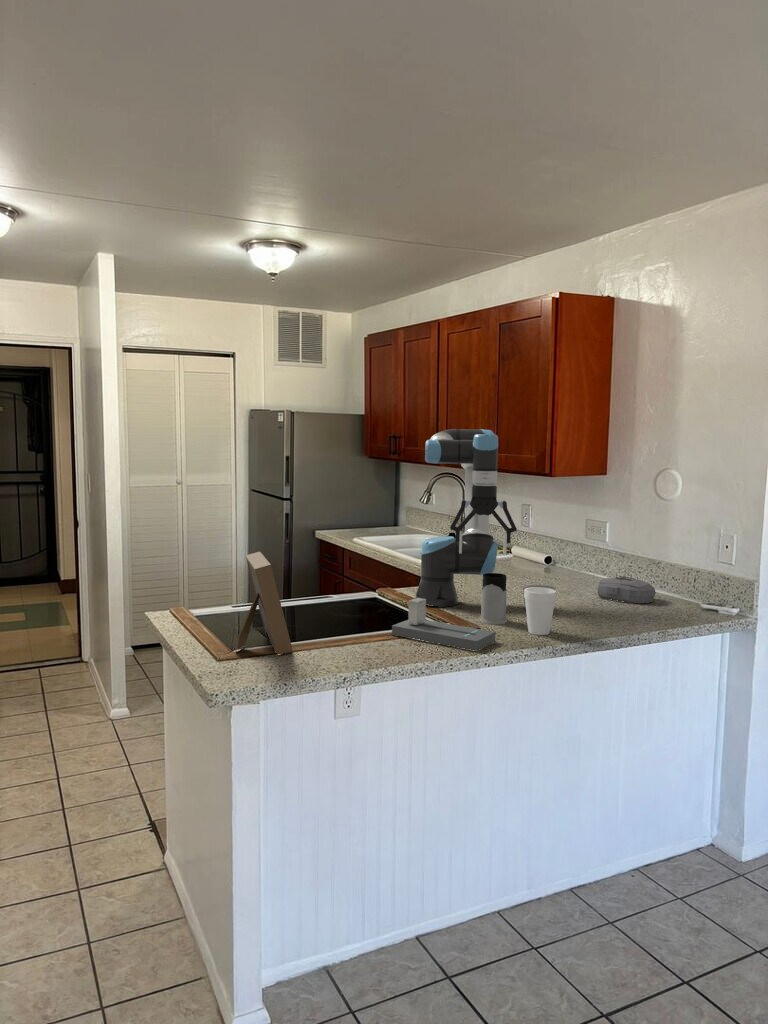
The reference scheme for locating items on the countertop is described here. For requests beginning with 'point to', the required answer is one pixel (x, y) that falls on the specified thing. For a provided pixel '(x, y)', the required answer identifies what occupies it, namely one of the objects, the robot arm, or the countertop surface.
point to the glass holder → (493, 599)
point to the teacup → (538, 586)
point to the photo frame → (265, 605)
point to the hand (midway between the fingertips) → (482, 553)
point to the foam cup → (539, 609)
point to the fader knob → (417, 611)
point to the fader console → (446, 634)
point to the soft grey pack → (626, 590)
